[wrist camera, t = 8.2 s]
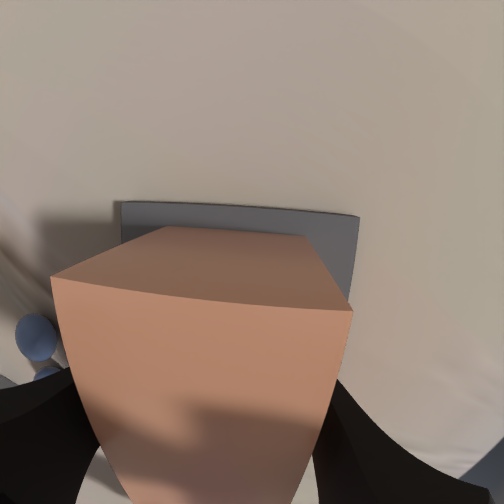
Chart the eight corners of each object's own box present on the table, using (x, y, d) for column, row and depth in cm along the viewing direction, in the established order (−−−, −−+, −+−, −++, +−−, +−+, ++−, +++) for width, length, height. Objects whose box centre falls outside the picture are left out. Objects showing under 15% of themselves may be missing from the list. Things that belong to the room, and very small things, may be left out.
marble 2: (84, 397, 15) (64, 422, 12) (55, 385, 16) (34, 407, 13) (73, 365, 15) (49, 389, 12) (44, 353, 15) (19, 374, 12)
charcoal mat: (312, 423, 14) (314, 432, 13) (148, 403, 15) (144, 411, 14) (354, 215, 11) (360, 217, 11) (129, 201, 12) (121, 202, 11)
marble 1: (70, 352, 14) (44, 376, 12) (40, 342, 15) (15, 362, 12) (60, 311, 14) (30, 332, 11) (31, 302, 14) (1, 320, 11)
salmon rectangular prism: (278, 420, 13) (276, 531, 6) (177, 407, 14) (135, 507, 7) (305, 235, 11) (353, 311, 4) (167, 225, 11) (50, 276, 4)
